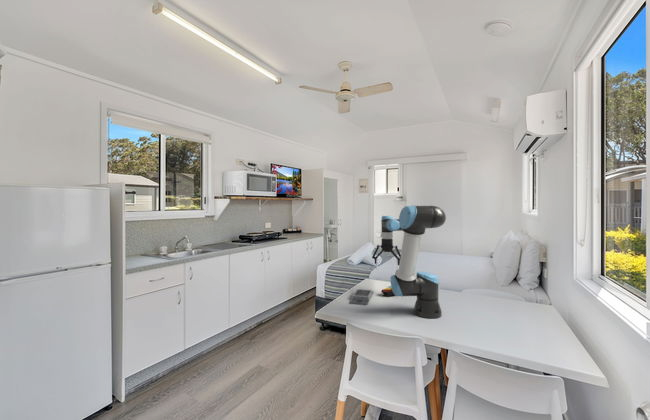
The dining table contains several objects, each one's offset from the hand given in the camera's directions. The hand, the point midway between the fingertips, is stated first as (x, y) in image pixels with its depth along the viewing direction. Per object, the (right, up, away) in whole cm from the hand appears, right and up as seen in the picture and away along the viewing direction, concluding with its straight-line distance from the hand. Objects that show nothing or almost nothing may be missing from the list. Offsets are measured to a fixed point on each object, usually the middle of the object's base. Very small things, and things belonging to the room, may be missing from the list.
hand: (387, 269), depth 194 cm
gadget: (0, -19, 0) cm, 19 cm away
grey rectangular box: (-17, -18, -3) cm, 25 cm away
